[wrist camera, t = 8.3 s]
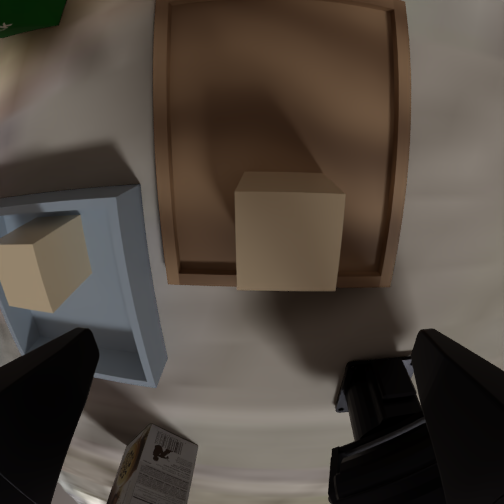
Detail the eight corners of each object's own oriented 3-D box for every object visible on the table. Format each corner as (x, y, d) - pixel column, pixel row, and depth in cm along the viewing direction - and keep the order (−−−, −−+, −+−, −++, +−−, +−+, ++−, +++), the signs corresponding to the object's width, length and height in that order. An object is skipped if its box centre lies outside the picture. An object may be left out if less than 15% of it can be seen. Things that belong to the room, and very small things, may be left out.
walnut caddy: (384, 278, 20) (389, 287, 19) (172, 275, 21) (167, 284, 20) (397, 7, 13) (404, 1, 12) (162, 0, 13) (156, -7, 12)
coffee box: (168, 465, 33) (144, 565, 18) (125, 445, 31) (90, 546, 17) (201, 445, 30) (178, 570, 15) (150, 421, 28) (110, 549, 13)
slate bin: (167, 358, 24) (156, 388, 21) (40, 337, 25) (23, 358, 21) (140, 184, 18) (115, 197, 15) (-1, 198, 19) (-28, 211, 16)
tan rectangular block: (92, 273, 21) (53, 313, 16) (49, 270, 21) (9, 305, 16) (80, 214, 19) (32, 244, 14) (36, 217, 19) (-11, 244, 14)
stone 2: (318, 245, 19) (335, 291, 14) (245, 244, 19) (237, 289, 14) (323, 173, 17) (345, 194, 12) (244, 171, 17) (234, 191, 12)
